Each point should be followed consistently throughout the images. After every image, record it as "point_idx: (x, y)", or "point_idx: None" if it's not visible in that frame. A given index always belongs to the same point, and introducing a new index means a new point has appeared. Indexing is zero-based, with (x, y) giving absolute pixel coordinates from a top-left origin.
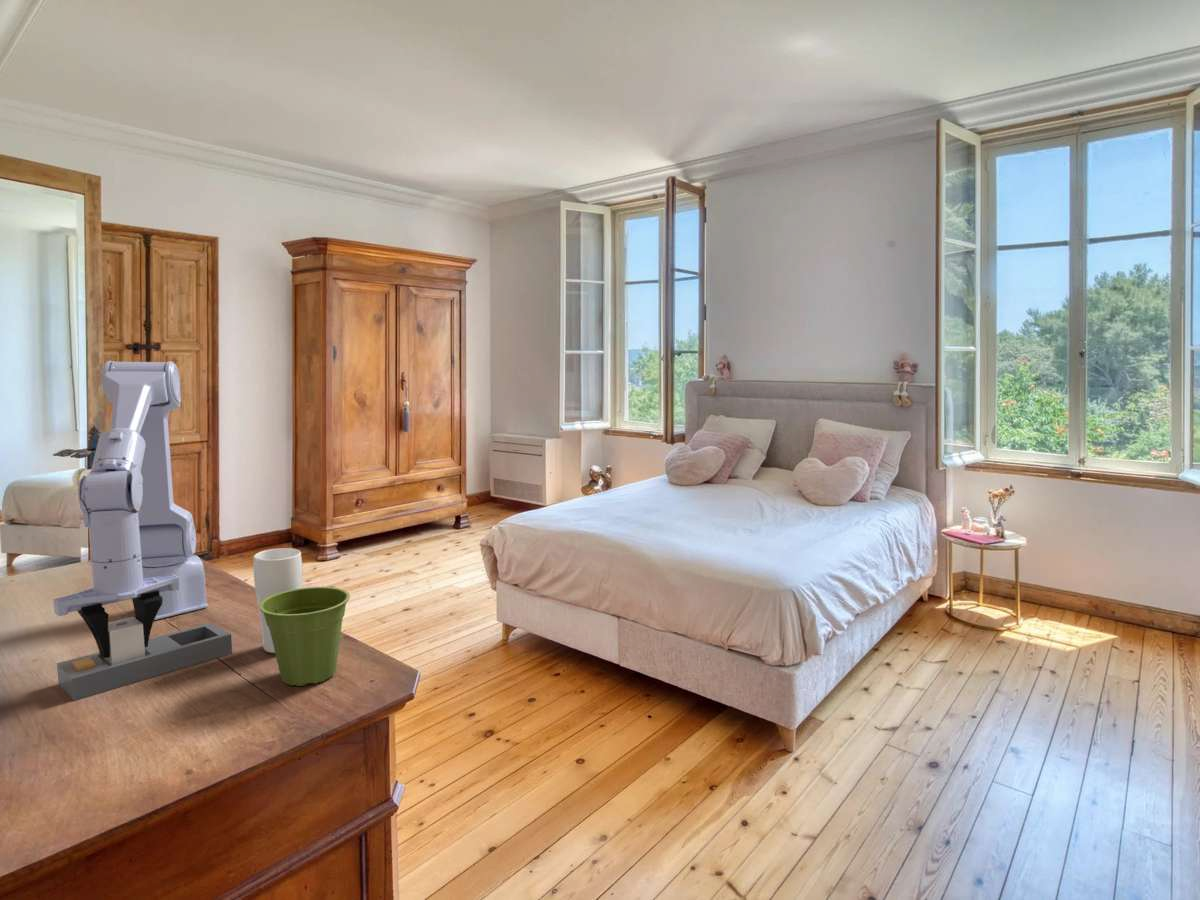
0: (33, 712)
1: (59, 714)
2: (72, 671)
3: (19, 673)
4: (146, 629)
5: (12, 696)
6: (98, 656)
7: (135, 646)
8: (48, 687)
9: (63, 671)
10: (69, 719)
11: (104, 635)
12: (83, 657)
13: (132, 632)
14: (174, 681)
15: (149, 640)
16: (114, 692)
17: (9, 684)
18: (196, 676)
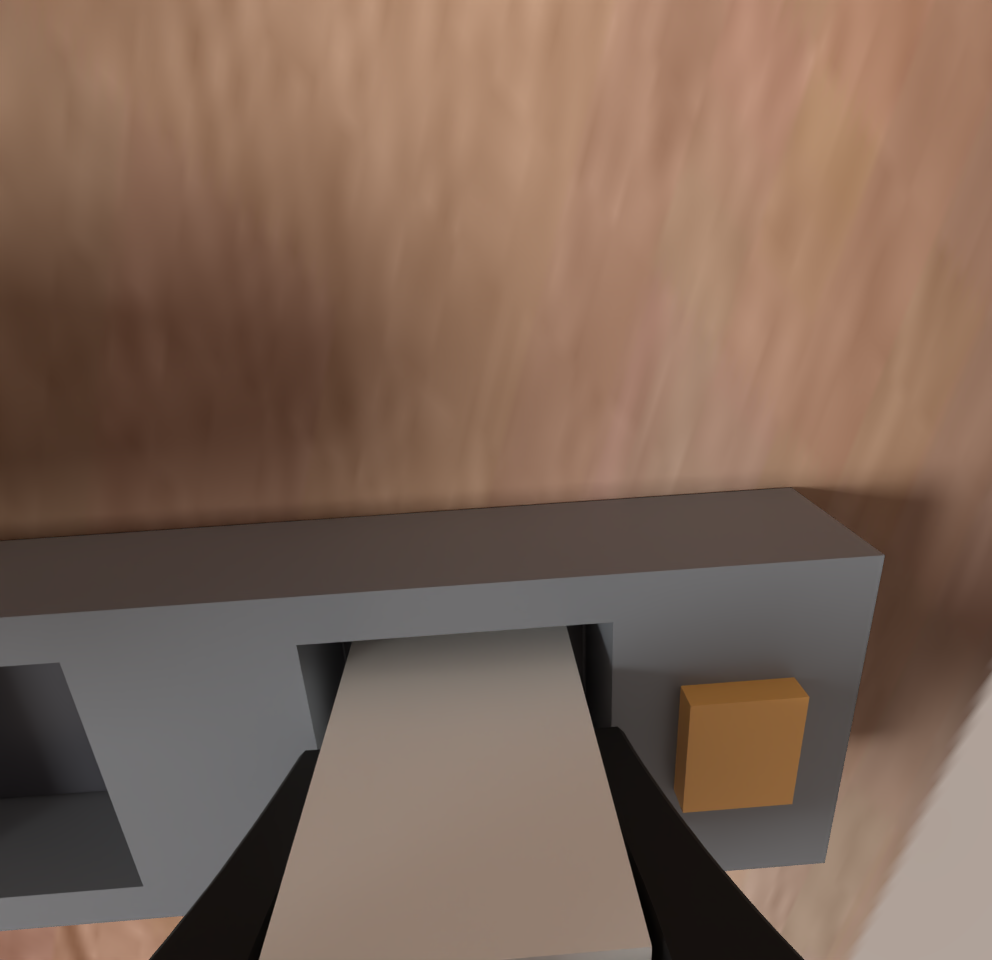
0: (983, 482)
1: (918, 345)
2: (821, 684)
3: (820, 948)
4: (246, 894)
5: (947, 742)
6: None
7: (396, 743)
8: None
9: (841, 734)
10: (917, 212)
11: (693, 915)
12: None
13: (396, 882)
14: (235, 343)
15: None
16: (587, 445)
17: (895, 870)
18: (80, 317)
